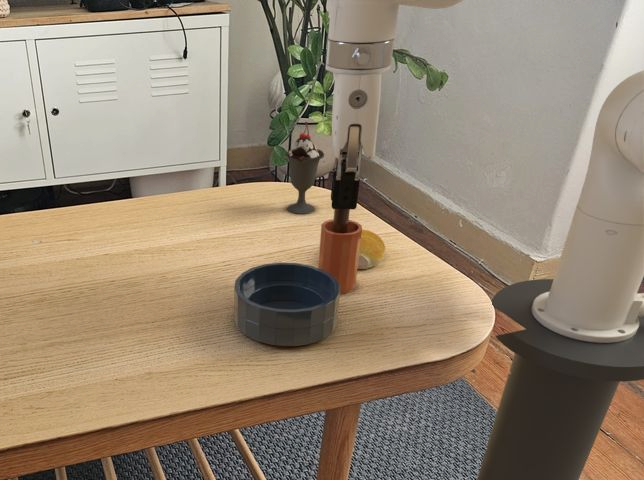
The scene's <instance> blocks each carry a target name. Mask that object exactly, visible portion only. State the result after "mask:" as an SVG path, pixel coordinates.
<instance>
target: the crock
mask: <svg viewBox="0 0 644 480" xmlns="http://www.w3.org/2000/svg"><path fill="white" fill-rule="evenodd" d="M333 219H334V218H333ZM333 219H329V220H326V221H325V220H324V221H323V222H322V223H321V224H320V236H319V246H318V247H319V248H318V256H317V257H318V258H317V268H319V269H322V270H324V271H326V272H328V273H329V274H331V275H332V276H334V278H335V279H336V280H337V281H338V283H339V285H340V295H343V294H347V293H351V292H353V290H354V289H355V287H356V282H357V275H358V269H357V267H358V259H359V251H360V243H361V235H362V230H363V225H362V224H361V223H359V222H357V221H355V220H352V219H349V221H348V230H347V233H334V232H332V229H333Z"/></svg>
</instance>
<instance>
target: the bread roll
mask: <svg viewBox="0 0 644 480" xmlns="http://www.w3.org/2000/svg"><path fill="white" fill-rule="evenodd" d="M385 252H386V244H385V243H384V240H383V239H382V238H381V237H380V236H379V235H378V234H377V233H375V232H373V231H371V230H368V229H362V235H361V243H360V251H359V259H358V267H357V270H366V269H370V268H373V267H376V266H377V265H379V263H380V262H381V261H382V260H383V258H384V254H385Z"/></svg>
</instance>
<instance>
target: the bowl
mask: <svg viewBox="0 0 644 480" xmlns="http://www.w3.org/2000/svg"><path fill="white" fill-rule="evenodd" d="M340 298H341V294H340V285H339V283H338V281H337V280H336V279H335V278H334V276H332V275H331V274H329V273H328V272H326V271H324V270H322V269H319V268H318V267H316V266H313V265H309V264H304V263H300V262H299V263H298V262H272V263H263V264H260V265H256V266H252V267H250V268H248V269H247V270H245V271H243V272H242V273H240V274H239V276H237V278H236V279H235V281H234V286H233V321H234V323H235V325H236V328H237V329H238V330H239V331H240V332H241V333H243V335H244V336H246V337H248V338H249V339H253V340H254V341H257V342H258V343H263V344H266V345H271V346H282V347H297V346H306V345H310V344H313V343H316V342H320V341H322V340H324V339H325V338H327V337H328V336H329V335H331V334H332V333H333V332H334V330H335V328H336V326H337V324H338V317H339V316H338V315H339V305H340Z"/></svg>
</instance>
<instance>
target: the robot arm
mask: <svg viewBox="0 0 644 480" xmlns="http://www.w3.org/2000/svg"><path fill="white" fill-rule="evenodd" d="M463 1H464V0H330V11H329V23H328V35H327V36H328V37H327V46H326V47H327V48H326V60H325V70H326V71H327V72H328V71H329V72H330V73H333V74H334V85H333V97H332V112H331V141H332V151H333V156H334V157H335V163H334V170H333V171H332V180H331V190H330V201H331V208H332V209H333V210H334V209H350V210H356V209H357V205H358V198H359V189H360V182H361V178H360V173H361V172H360V171H361V165H362V164H361V162H362V157H363V156H362V155H363V154H364V157H365V158H368V160H372V159H373V158H375V156H376V148H377V137H378V136H377V135H378V126H379V117H380V108H381V107H380V106H381V96H382V95H381V94H382V73H383V74H384V73H386V72H389V71H390V70H391V68H392V60H393V53H394V46H395V39H396V29H397V22H398V15H399V9H400V6H409V7H417V8H421V9H422V8H423V9H432V10H440V9H441V10H442V9H447V8H451V7H453V6H456V5H458V4H459V3H461V2H463ZM598 112H599V113H598V115H597V118H596V123H595V127H594V133H593V138H592V145H591V151H590V156H589V161H588V166H587V170H586V174H585V178H584V182H583V185H582V187H581V192H580V195H579V198H578V201H577V205H576V206H575V210H574V213H573V217H572V219H571V223H570V225H569V229H568V232H567V235H566V239H565V242H564V244H563V248H562V251H561V255H560V258H559V261H558V264H557V267H556V269H555V273H554V276H553V279H554V280H553V283H552V286H551V289H550V292H546V293H543V294H541V295H539V296H538V297H536V298H535V300H534V302H533V305H532V314H533V316H534V317H535V318H536V320H537V321H538V322H539V323H541V324H542V325H543V326H544V327H546V328H548V329H550V330H551V331H553V332H556V333H558V334H560V335H563V336H566V337H569V338H572V339H576V340H581V341H586V342H594V343H614V342H620V341H624V340H627V339H629V338H631V337H633V336H634V335H635V334H636V332H637V329H638V327H639V319H638V317H643V316H644V292H641V293H638V292H639V290H640V286H641V284H642V281H643V279H644V70H641V71H638V72H635V73H633V74H632V75H630V76H628V77H626V78H625V79H623V80H622V81H621V82H619V83H618V84H617V85H616V86H615V87H614V88H613V89H612V90H611V91H610V93H609V94H608V95H607V96H606V98H605V100H604V102H603V104H602V105H601V107H600V110H599V111H598ZM343 162H346V163H343ZM342 163H343V166H342Z"/></svg>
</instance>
